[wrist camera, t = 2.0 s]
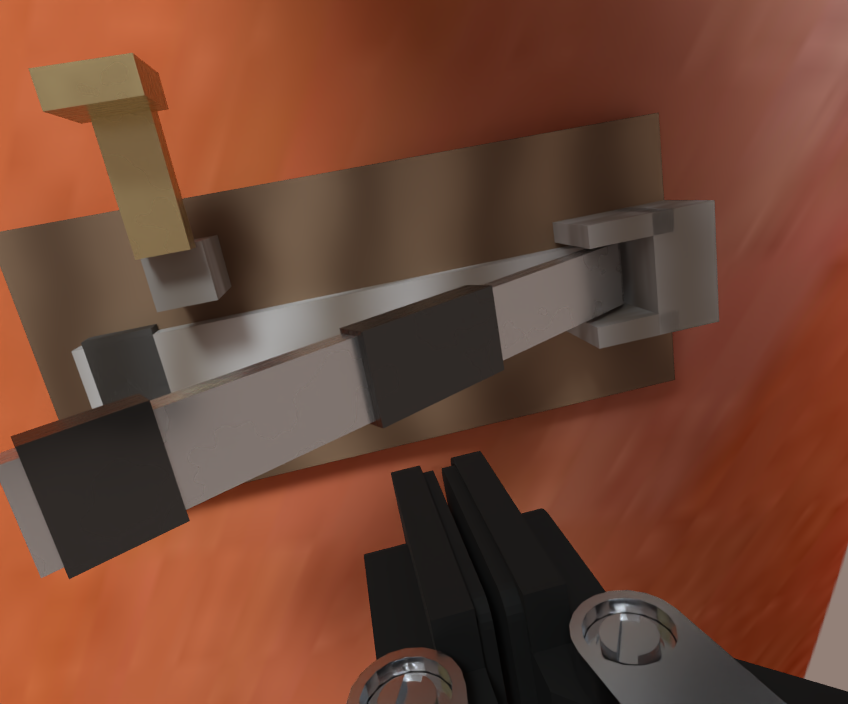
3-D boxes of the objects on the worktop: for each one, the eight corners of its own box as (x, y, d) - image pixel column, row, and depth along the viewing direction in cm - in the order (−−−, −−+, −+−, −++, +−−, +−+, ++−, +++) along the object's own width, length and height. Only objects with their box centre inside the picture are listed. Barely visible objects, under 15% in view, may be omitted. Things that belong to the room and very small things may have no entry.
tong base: (642, 116, 30) (710, 99, 25) (659, 372, 34) (722, 403, 29) (5, 232, 26) (-72, 240, 21) (107, 502, 30) (62, 566, 25)
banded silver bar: (604, 235, 29) (630, 234, 28) (611, 306, 30) (636, 307, 29) (-15, 444, 14) (-11, 459, 13) (40, 572, 15) (48, 595, 14)
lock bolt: (75, 89, 21) (28, 68, 17) (162, 75, 21) (132, 52, 18) (129, 259, 22) (96, 270, 19) (208, 244, 23) (189, 252, 19)
